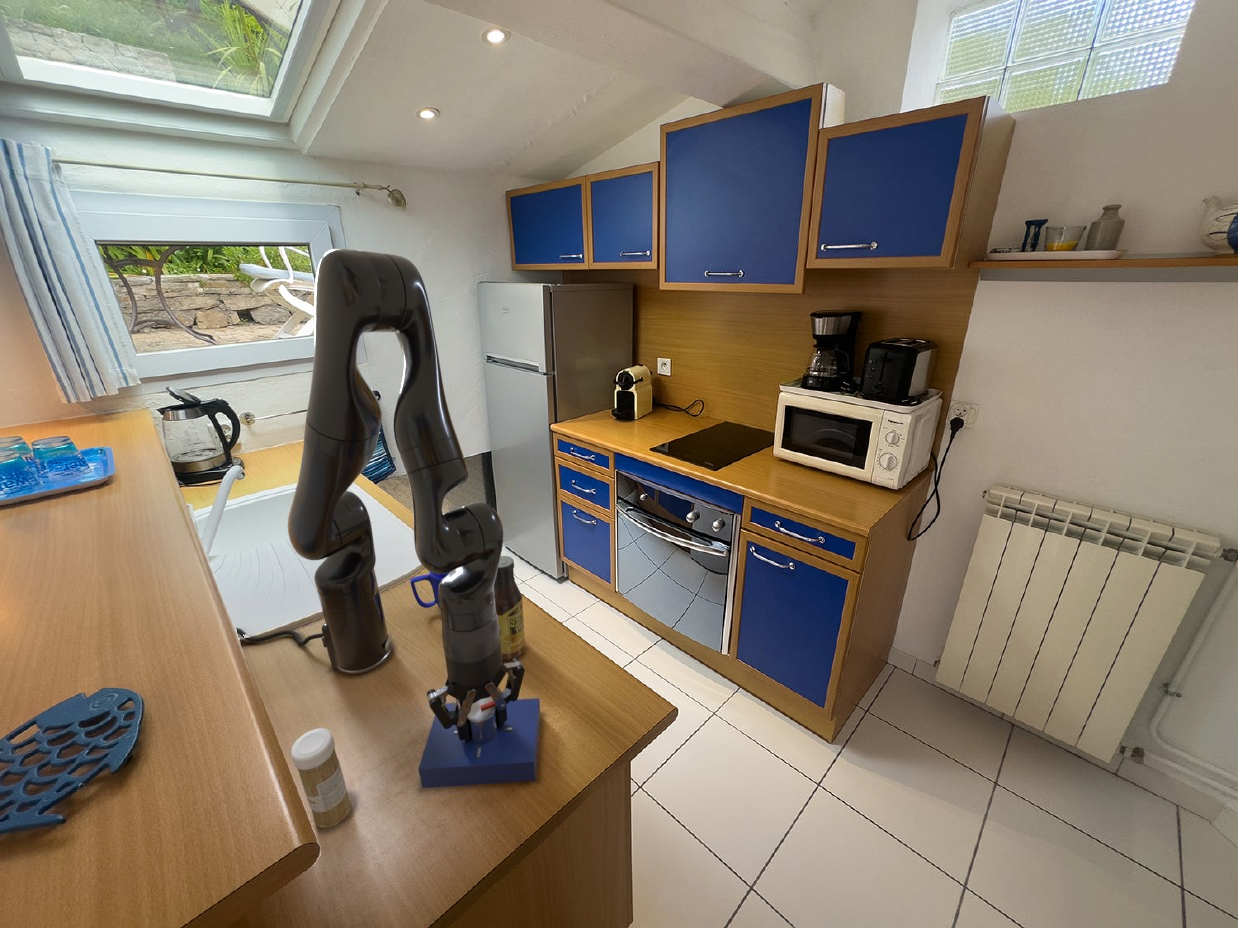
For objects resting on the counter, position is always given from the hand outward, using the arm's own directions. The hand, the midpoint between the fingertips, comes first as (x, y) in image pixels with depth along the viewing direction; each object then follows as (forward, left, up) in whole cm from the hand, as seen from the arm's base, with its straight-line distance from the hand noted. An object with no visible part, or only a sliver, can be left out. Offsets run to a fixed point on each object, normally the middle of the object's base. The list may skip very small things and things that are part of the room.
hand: (482, 729), depth 74 cm
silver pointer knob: (0, 0, 0) cm, 0 cm away
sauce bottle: (+1, +21, -5) cm, 22 cm away
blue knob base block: (0, 0, -4) cm, 4 cm away
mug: (-14, +34, -5) cm, 37 cm away
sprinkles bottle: (-19, -8, -5) cm, 21 cm away
